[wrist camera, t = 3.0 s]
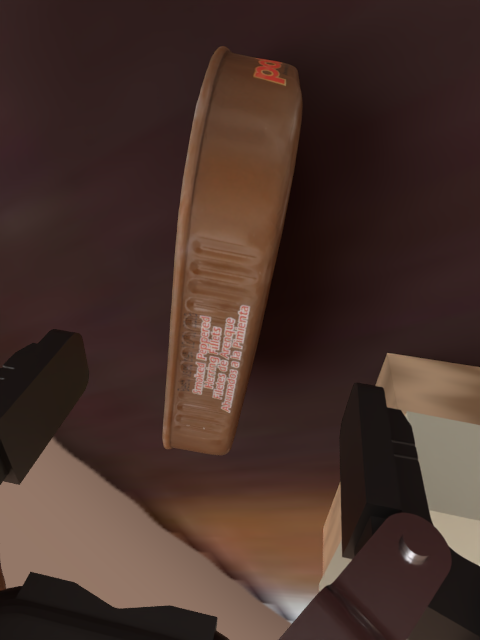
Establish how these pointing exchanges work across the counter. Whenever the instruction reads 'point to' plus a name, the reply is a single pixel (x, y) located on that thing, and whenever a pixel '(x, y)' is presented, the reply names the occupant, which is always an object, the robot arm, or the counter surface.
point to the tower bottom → (416, 409)
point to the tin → (227, 242)
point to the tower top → (442, 485)
